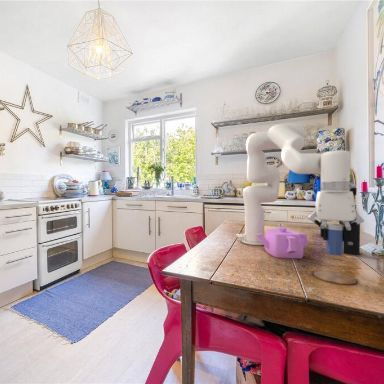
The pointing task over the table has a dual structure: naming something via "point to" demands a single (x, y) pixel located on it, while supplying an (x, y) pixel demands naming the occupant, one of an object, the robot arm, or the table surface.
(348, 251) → the black water bottle
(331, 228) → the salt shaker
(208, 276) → the table surface
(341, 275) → the coaster
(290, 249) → the teakettle
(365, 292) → the table surface
